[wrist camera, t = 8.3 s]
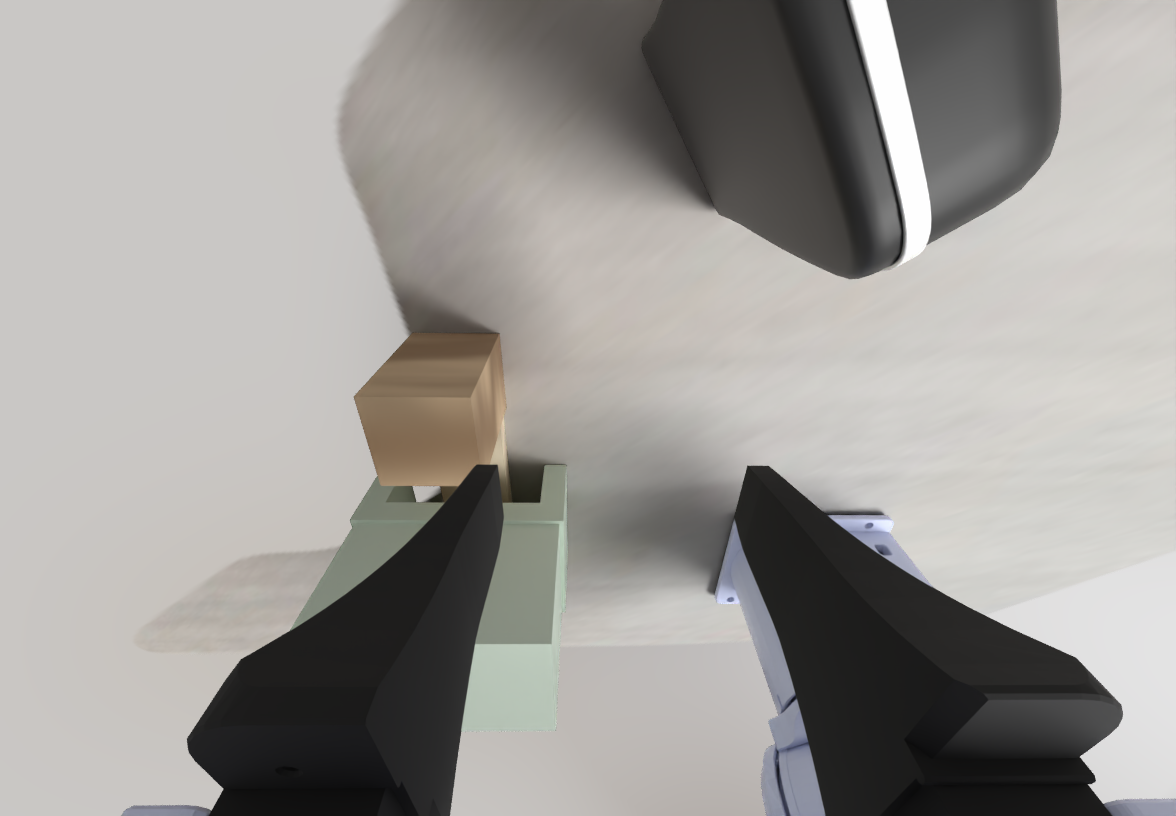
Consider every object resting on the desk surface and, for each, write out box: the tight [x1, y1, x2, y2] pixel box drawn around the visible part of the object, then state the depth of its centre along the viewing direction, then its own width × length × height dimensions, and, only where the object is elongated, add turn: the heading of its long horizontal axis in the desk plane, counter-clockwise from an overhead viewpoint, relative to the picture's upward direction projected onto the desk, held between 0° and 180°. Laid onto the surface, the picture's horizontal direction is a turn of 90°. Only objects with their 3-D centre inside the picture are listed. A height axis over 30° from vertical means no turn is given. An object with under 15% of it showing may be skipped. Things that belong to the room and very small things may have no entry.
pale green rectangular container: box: [290, 465, 568, 731], centre depth 22 cm, size 7×10×10 cm
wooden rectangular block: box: [354, 333, 512, 503], centre depth 21 cm, size 14×4×6 cm, turn 179°
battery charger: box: [642, 0, 1061, 279], centre depth 11 cm, size 7×4×11 cm, turn 34°
